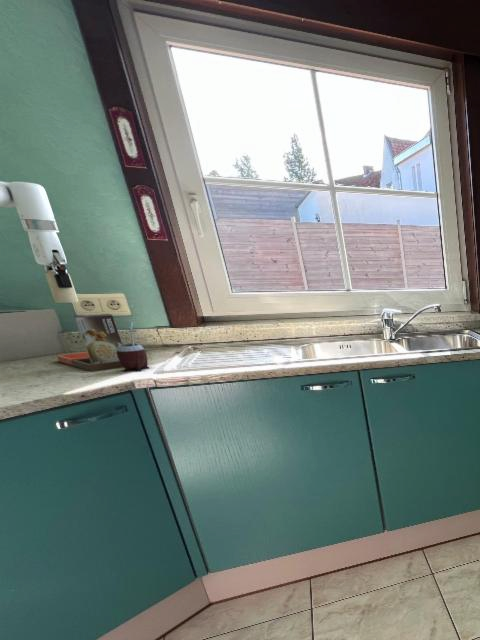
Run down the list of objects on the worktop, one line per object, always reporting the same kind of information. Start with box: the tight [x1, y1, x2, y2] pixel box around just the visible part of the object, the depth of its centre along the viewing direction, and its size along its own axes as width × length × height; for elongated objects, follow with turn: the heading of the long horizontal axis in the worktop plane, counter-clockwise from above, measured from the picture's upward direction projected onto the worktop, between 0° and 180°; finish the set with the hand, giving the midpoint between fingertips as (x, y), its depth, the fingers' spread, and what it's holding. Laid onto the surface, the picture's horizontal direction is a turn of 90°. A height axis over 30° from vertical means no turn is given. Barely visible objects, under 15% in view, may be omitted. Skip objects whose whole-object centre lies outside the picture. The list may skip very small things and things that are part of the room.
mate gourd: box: [116, 320, 150, 372], centre depth 159 cm, size 8×8×15 cm
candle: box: [45, 270, 79, 304], centre depth 160 cm, size 6×6×10 cm
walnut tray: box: [73, 358, 124, 372], centre depth 166 cm, size 14×13×2 cm
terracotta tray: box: [56, 351, 89, 366], centre depth 172 cm, size 14×11×2 cm
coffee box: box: [73, 313, 124, 364], centre depth 163 cm, size 9×6×16 cm
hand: (61, 286), depth 160 cm, fingers closed on candle, 5 cm apart
